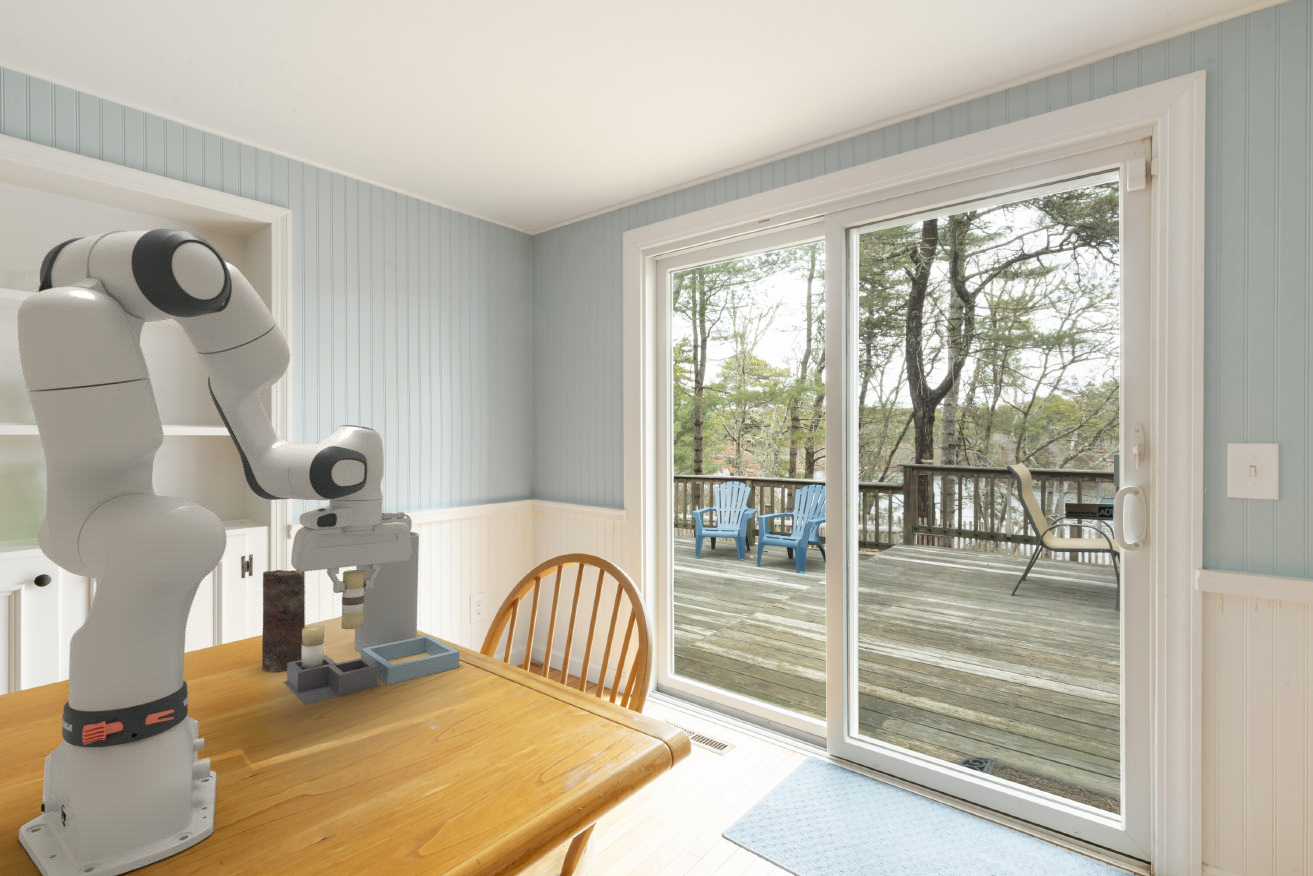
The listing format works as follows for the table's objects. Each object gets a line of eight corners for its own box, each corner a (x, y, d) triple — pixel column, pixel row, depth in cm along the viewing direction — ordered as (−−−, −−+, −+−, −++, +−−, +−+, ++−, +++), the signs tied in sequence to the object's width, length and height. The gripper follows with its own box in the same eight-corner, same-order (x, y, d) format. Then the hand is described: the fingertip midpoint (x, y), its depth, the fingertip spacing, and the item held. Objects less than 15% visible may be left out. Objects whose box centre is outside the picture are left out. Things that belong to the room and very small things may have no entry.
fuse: (325, 682, 118) (326, 628, 118) (304, 687, 115) (305, 632, 116) (319, 677, 121) (320, 624, 121) (298, 682, 118) (299, 627, 118)
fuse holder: (380, 691, 117) (381, 666, 117) (305, 710, 108) (305, 684, 108) (354, 671, 127) (355, 648, 127) (283, 687, 118) (283, 662, 118)
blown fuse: (366, 626, 117) (368, 572, 117) (345, 630, 114) (346, 574, 115) (359, 622, 120) (360, 569, 120) (338, 626, 117) (339, 571, 117)
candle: (251, 674, 124) (254, 571, 124) (283, 662, 131) (286, 564, 131) (282, 679, 122) (285, 574, 122) (313, 666, 129) (316, 567, 129)
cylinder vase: (341, 653, 137) (343, 536, 137) (386, 637, 148) (388, 529, 148) (385, 662, 132) (388, 541, 132) (428, 645, 144) (431, 533, 144)
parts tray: (458, 672, 128) (459, 651, 128) (388, 690, 118) (388, 667, 118) (428, 654, 138) (428, 635, 138) (360, 669, 128) (360, 648, 128)
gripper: (405, 510, 127) (402, 580, 127) (289, 516, 113) (287, 594, 112) (418, 513, 122) (416, 585, 122) (300, 519, 108) (297, 601, 108)
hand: (353, 590), depth 117 cm, fingers closed on blown fuse, 4 cm apart
